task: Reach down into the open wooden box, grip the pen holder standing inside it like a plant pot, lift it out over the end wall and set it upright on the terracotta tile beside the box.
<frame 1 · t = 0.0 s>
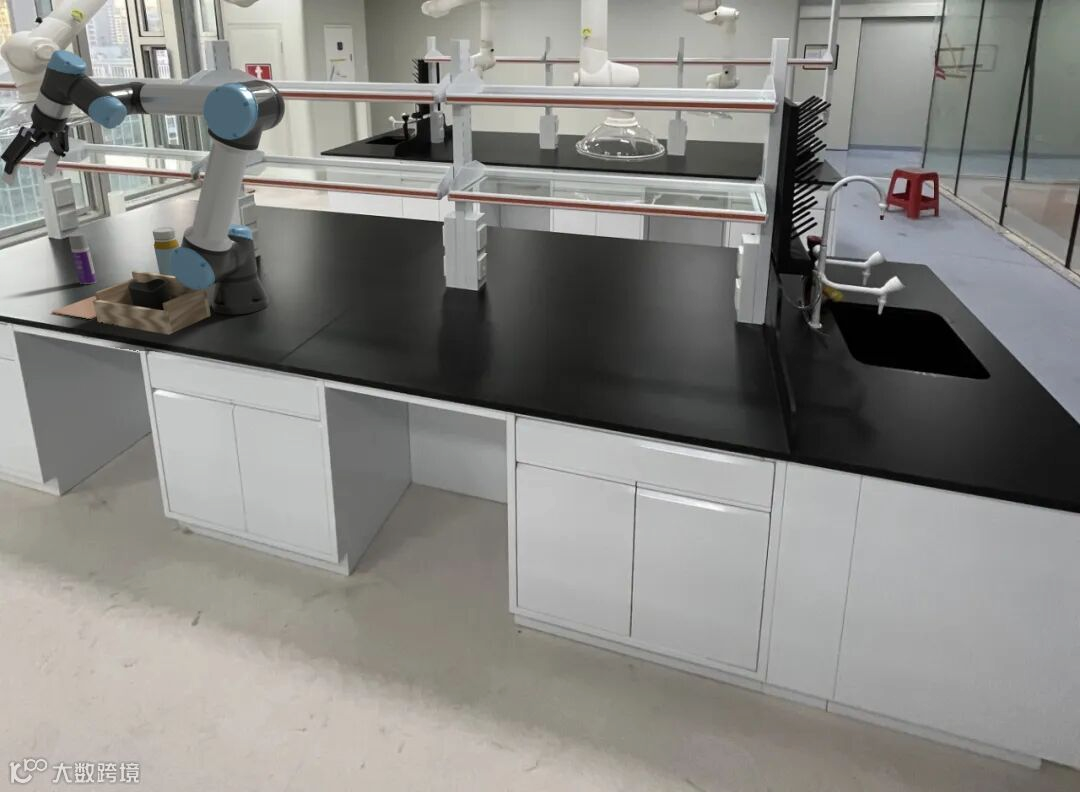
hand: (27, 177, 211), 36 cm above the countertop, tool tilted 35°, fingers open, 13 cm apart
bottle: (172, 277, 253), on the countertop
pen holder: (155, 319, 219), resting in open wooden box
terracotta tile: (92, 308, 226), on the countertop
open wooden box: (154, 318, 219), on the countertop
container: (88, 283, 247), on the countertop
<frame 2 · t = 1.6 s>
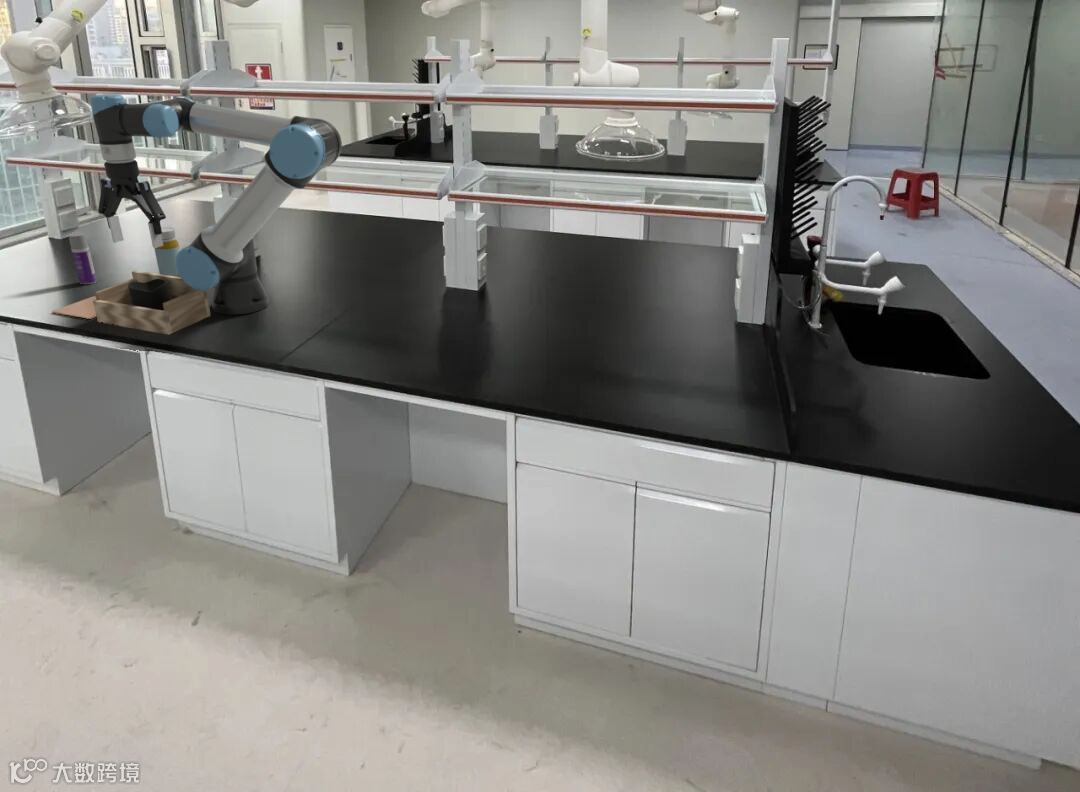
hand: (138, 244, 210), 21 cm above the countertop, tool pointing down, fingers open, 13 cm apart
nothing on the countertop moved.
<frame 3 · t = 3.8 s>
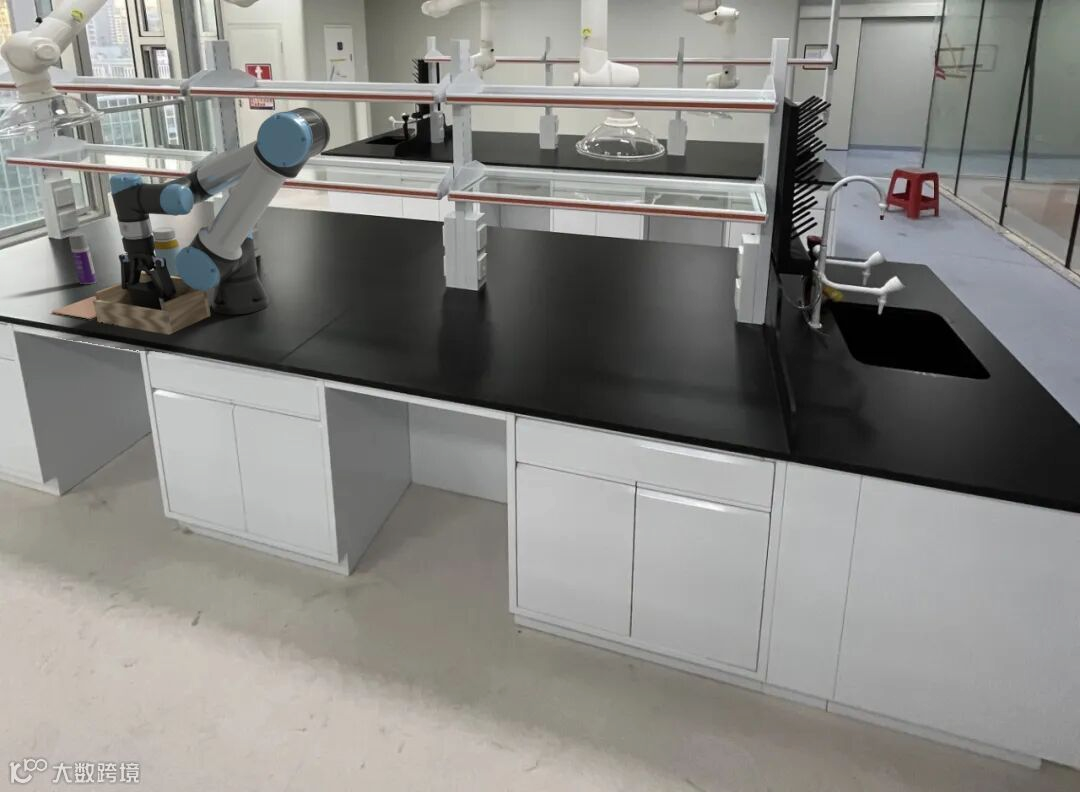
hand: (154, 317, 219), 0 cm above the countertop, tool pointing down, fingers closed on pen holder, 9 cm apart
pen holder: (155, 319, 219), resting in open wooden box, touching gripper
everything else where it was.
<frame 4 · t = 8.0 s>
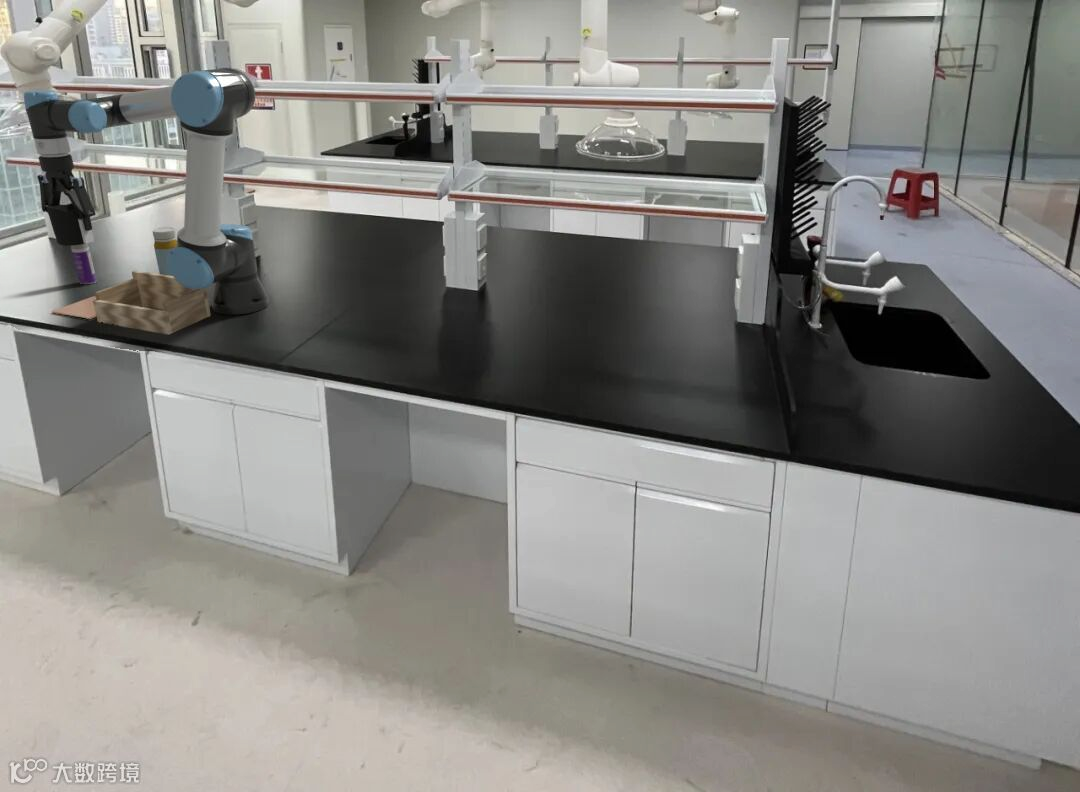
hand: (75, 240, 217), 20 cm above the countertop, tool pointing down, fingers closed on pen holder, 9 cm apart
pen holder: (75, 242, 218), point 19 cm above the countertop, touching gripper
everything else where it was.
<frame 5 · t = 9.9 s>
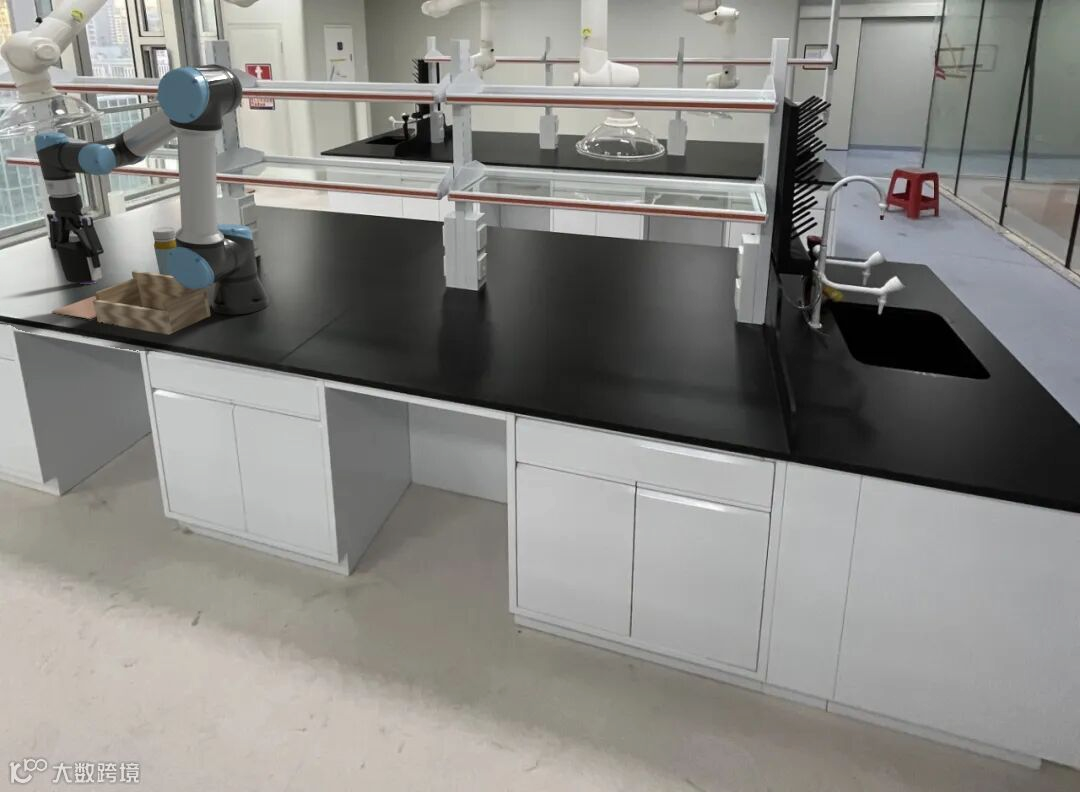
hand: (83, 276, 222), 9 cm above the countertop, tool pointing down, fingers closed on pen holder, 9 cm apart
pen holder: (84, 278, 222), point 9 cm above the countertop, touching gripper
everything else where it was.
when the fingers open (3 cm above the countertop, at t = 11.7 s): pen holder drops 1 cm, resting on terracotta tile.
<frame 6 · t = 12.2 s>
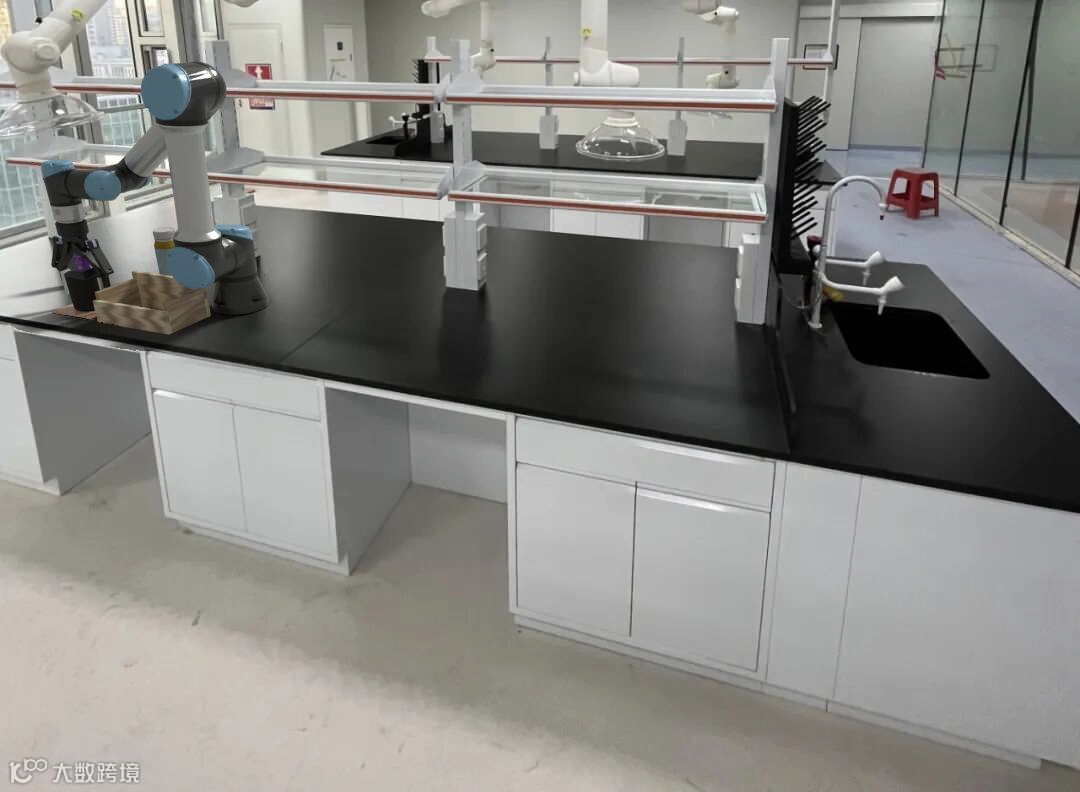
hand: (89, 295, 224), 4 cm above the countertop, tool pointing down, fingers open, 13 cm apart
pen holder: (92, 307, 226), resting on terracotta tile
everything else where it was.
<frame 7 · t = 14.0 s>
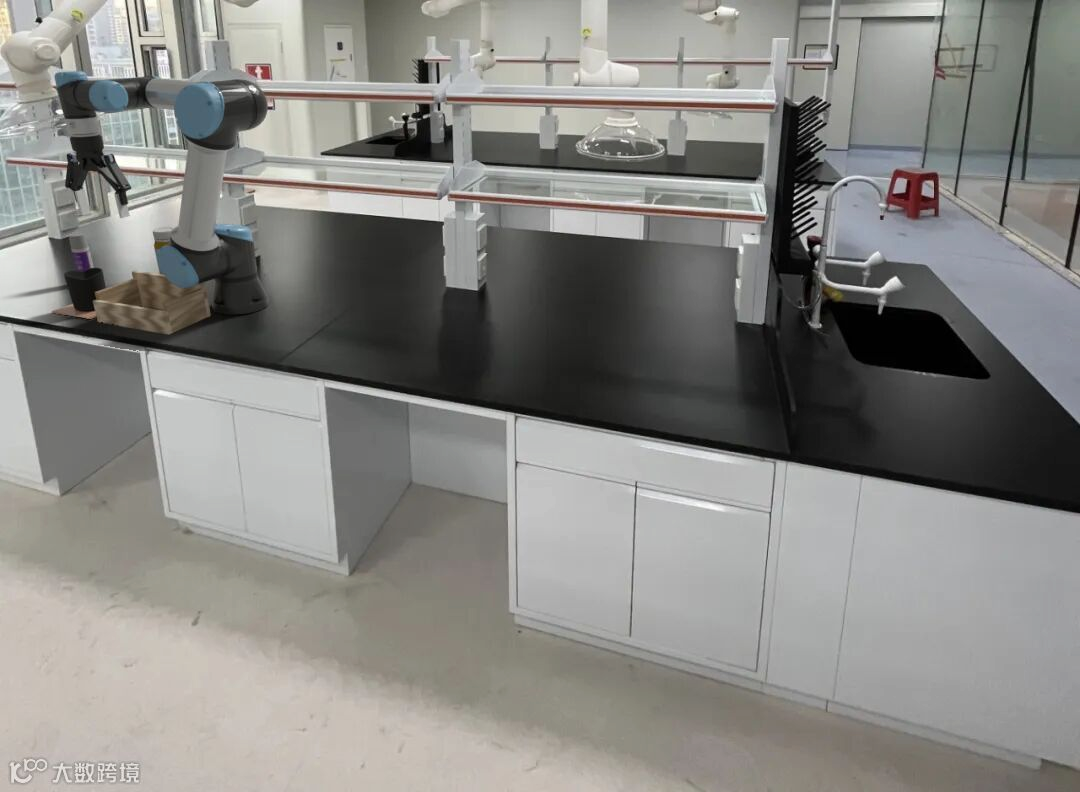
hand: (105, 215, 220), 25 cm above the countertop, tool pointing down, fingers open, 13 cm apart
nothing on the countertop moved.
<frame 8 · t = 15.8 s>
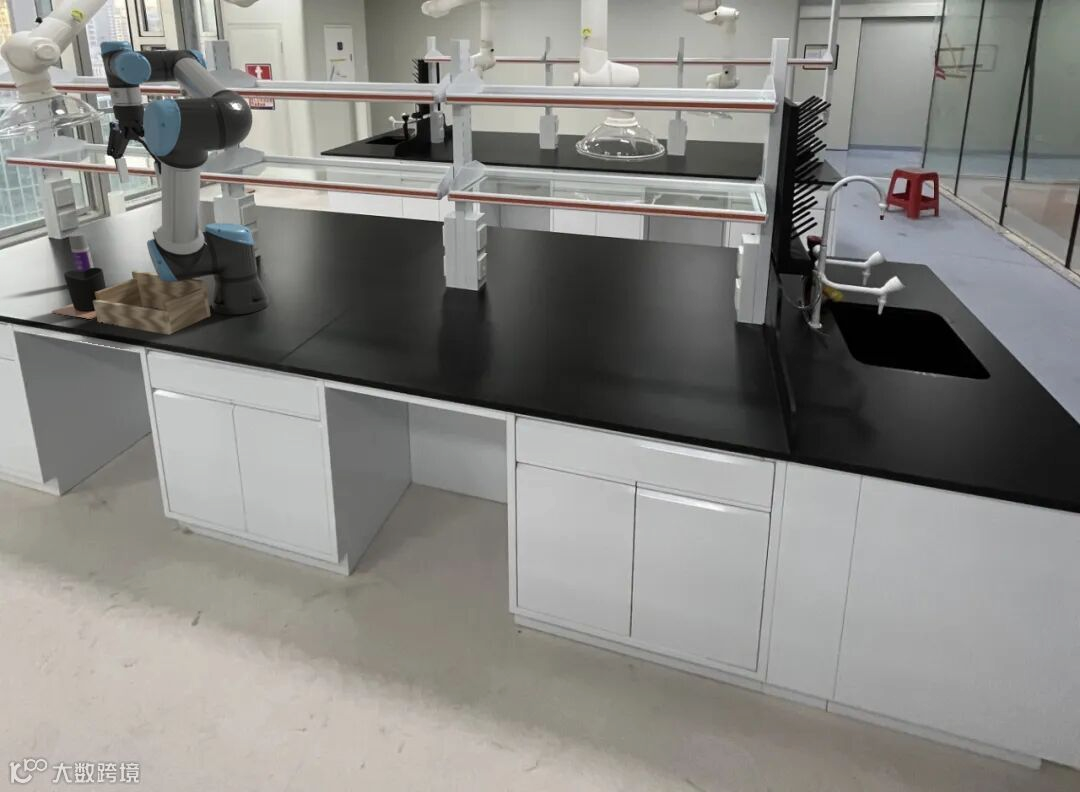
hand: (144, 184, 225), 32 cm above the countertop, tool pointing down, fingers open, 13 cm apart
nothing on the countertop moved.
at the end: pen holder inside the target area on the terracotta tile (0.0 cm from its centre), point 0.4 cm above the terracotta tile's base; pen holder tilted 0°; the gripper is holding nothing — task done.
